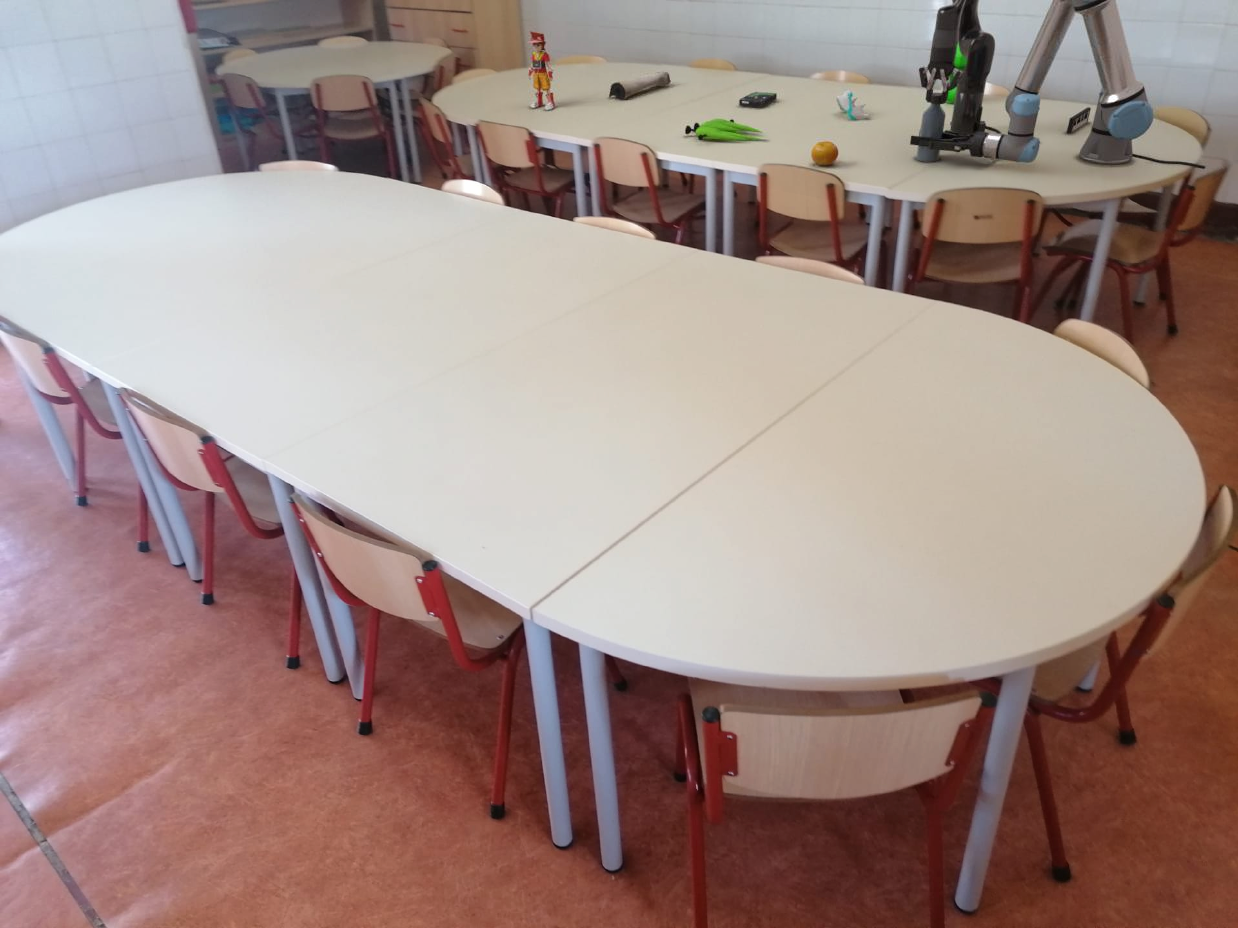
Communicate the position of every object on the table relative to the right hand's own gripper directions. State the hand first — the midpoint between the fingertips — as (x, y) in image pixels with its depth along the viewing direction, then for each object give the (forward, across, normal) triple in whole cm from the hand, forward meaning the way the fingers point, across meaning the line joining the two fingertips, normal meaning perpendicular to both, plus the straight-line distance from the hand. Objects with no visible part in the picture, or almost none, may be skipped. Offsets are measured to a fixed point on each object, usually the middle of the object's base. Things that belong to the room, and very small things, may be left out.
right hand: (915, 137), depth 296 cm
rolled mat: (+140, +43, -6) cm, 146 cm away
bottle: (-5, 0, -6) cm, 8 cm away
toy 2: (+68, -4, -6) cm, 69 cm away
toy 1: (+163, +3, -6) cm, 163 cm away
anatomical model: (+40, +41, -6) cm, 58 cm away
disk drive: (+82, +44, -6) cm, 94 cm away
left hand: (-5, 0, +11) cm, 13 cm away
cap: (-5, 0, +14) cm, 15 cm away
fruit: (+23, -20, -6) cm, 31 cm away
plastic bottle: (+12, +76, -6) cm, 77 cm away
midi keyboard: (-38, +57, -6) cm, 69 cm away
